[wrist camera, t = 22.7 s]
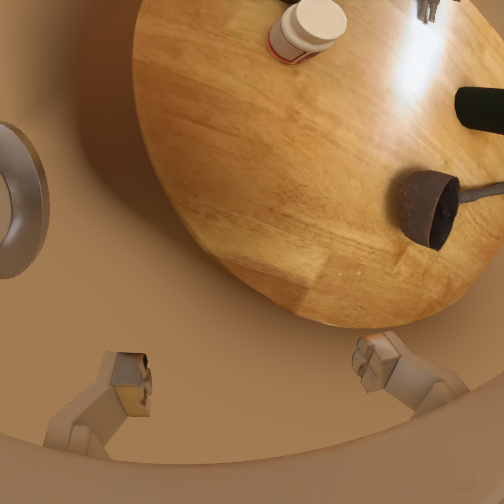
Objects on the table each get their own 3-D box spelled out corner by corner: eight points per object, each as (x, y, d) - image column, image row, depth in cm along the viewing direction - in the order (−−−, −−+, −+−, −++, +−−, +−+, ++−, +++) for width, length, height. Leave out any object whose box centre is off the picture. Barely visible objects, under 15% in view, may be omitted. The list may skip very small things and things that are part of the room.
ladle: (383, 168, 36) (443, 190, 28) (481, 148, 47) (516, 161, 39) (378, 242, 42) (428, 272, 34) (476, 194, 53) (508, 209, 45)
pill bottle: (313, 28, 29) (352, -1, 18) (311, 68, 31) (353, 50, 21) (266, 20, 28) (291, -15, 17) (264, 62, 30) (290, 37, 20)
